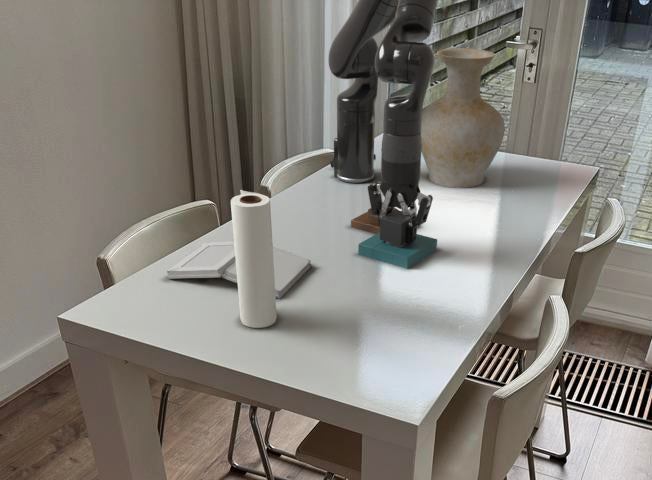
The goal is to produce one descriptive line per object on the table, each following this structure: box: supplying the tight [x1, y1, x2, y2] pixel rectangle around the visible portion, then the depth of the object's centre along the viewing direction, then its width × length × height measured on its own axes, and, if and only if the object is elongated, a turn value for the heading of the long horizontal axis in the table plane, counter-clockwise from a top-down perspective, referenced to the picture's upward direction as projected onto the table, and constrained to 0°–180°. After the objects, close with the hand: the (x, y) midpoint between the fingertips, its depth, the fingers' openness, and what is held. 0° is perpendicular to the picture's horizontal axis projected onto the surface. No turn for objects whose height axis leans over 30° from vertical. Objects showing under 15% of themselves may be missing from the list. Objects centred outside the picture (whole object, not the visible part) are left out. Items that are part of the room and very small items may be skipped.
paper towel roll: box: [230, 189, 278, 329], centre depth 125 cm, size 7×6×21 cm
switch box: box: [350, 207, 399, 235], centre depth 167 cm, size 11×9×4 cm
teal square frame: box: [357, 232, 438, 270], centre depth 156 cm, size 12×12×2 cm
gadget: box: [166, 241, 312, 299], centre depth 145 cm, size 23×15×4 cm, turn 73°
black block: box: [380, 209, 408, 248], centre depth 154 cm, size 5×6×7 cm
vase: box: [421, 47, 506, 189], centre depth 189 cm, size 22×22×30 cm
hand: (397, 239), depth 155 cm, fingers closed on black block, 5 cm apart
